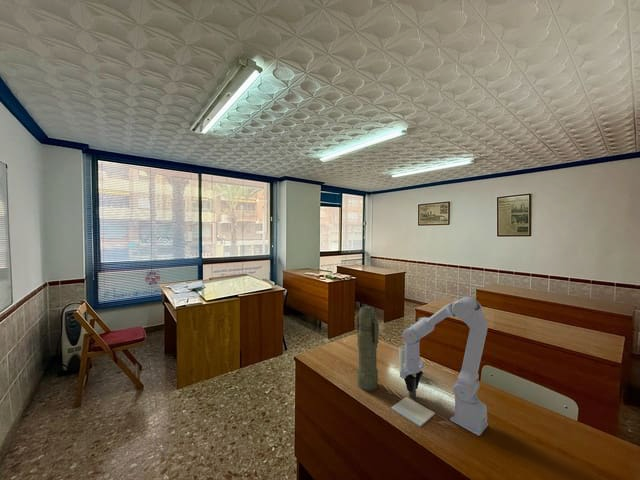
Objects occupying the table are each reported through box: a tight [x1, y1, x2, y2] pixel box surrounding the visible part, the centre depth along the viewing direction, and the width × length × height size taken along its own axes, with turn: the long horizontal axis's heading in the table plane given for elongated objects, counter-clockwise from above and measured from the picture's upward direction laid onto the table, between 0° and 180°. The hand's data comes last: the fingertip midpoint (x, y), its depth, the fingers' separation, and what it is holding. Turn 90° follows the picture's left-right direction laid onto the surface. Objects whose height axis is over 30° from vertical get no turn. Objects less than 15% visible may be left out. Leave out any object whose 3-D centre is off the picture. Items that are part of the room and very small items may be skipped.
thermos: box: [356, 305, 380, 392], centre depth 112 cm, size 9×12×35 cm
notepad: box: [391, 396, 436, 428], centre depth 95 cm, size 12×10×1 cm
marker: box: [408, 373, 417, 400], centre depth 104 cm, size 3×3×10 cm
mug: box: [398, 345, 405, 373], centre depth 123 cm, size 10×7×12 cm, turn 128°
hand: (412, 389), depth 104 cm, fingers closed on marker, 3 cm apart
